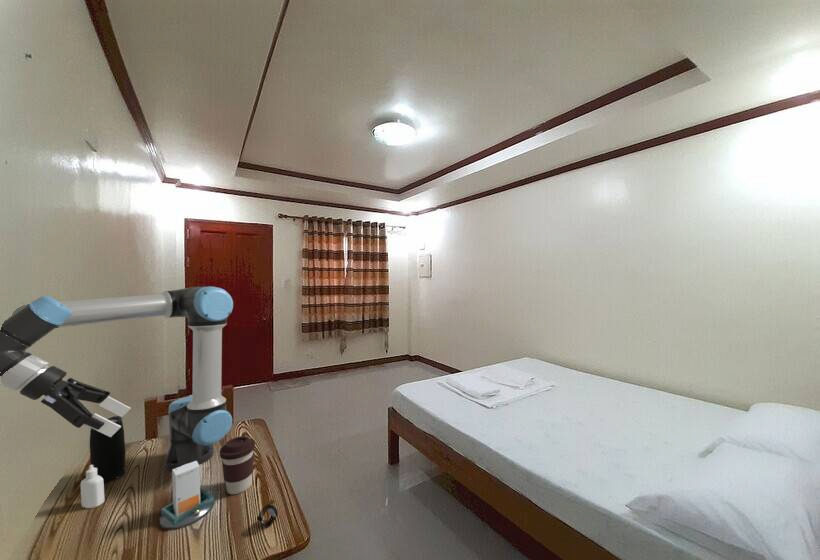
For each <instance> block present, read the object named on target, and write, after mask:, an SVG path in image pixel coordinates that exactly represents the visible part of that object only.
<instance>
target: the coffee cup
mask: <svg viewBox="0 0 820 560" xmlns="http://www.w3.org/2000/svg"><path fill="white" fill-rule="evenodd" d="M255 448H256V441H255V440H254V439H252V438H250V437H249V436H246V435H242V436H241V435H240V436H237V437H233V438H231V439H229V440H228V441H226V443H225V444H224V445H223V446H222V447H221V448H220V450H219V457H220V458H221V459H222V460H221V461H222V462H221V464H222V473H223V480H224V482H225V491H226V493H227V494H230V495H239V494H241V493H243V492H246V491H248V489H249V488H250V487H251V486H252V483H253V472H254V456H255V453H254V450H255Z"/></svg>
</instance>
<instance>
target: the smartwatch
mask: <svg viewBox="0 0 820 560" xmlns="http://www.w3.org/2000/svg"><path fill="white" fill-rule="evenodd" d="M266 512H268V514H269V516H270V518H269V519H268V521H267V522H266V523H265V524H264V522H263V519H264V516H265V514H266ZM278 514H279V512H278V509H277V507H275V505H273V504H269V503H268V504H266V505H265V506H264V507H263V508H262V509H261V511H260V512H259V513H258V515H257V517H256V518H257V520H256V521H258V522H259V524H261V525H262V526H263V527H265V528H269V527H271V525H272V524H273V523H274V522H275V521H276V519H277V517H278ZM261 525H260V526H261Z"/></svg>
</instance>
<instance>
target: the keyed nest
mask: <svg viewBox="0 0 820 560" xmlns="http://www.w3.org/2000/svg"><path fill="white" fill-rule="evenodd" d="M215 499H216V498H215V496H214V494H212V492H211V493H210V492H207V491H206V490H204V489H202V488H201V487H200V503H199V504H197V505H196V506H194V507H192V508H190V509H189V510H187V511H185V512H184V513H182V514H180V515H179V516H177V517H176V515H175V512H174V509H173V502H171V503H169V504H168V505H166V506H164V507H162V508H161V509H160V510H161V511H160V513H161V514H160V516H159V525H160V527H161V528H162V529H164V530H169V531H170V529H171V530H172V529H173V530H179V529H182V528H186V527H188V526H192V525H194V524H195V523H196V522H198V521H200V520H202V519H203V518H205V516H207V515H208V514H209V513H211V511H212V509H213V508H214V506H215Z"/></svg>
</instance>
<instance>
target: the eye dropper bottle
mask: <svg viewBox="0 0 820 560" xmlns="http://www.w3.org/2000/svg"><path fill="white" fill-rule="evenodd" d="M104 482H105V481H103V478H102V477H101V476H99V475H97V468H94V467H93V465H91V464H90V465H89V468H88V469H87V470H86V471H85V478H84V479H82V480H81V481H80V501H81V503H80V505H81V507H82V508H84V507H85V508H84V509H93V508H97V507H100V506H101V505H102V504H104V503H105V484H104Z"/></svg>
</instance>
